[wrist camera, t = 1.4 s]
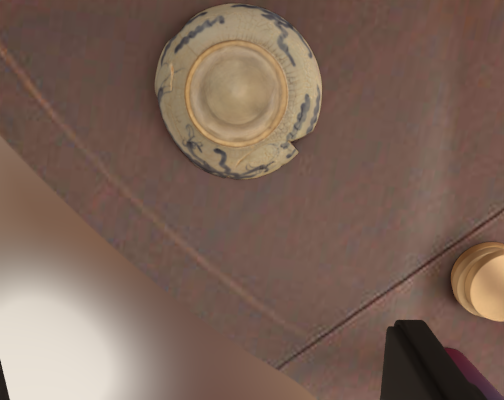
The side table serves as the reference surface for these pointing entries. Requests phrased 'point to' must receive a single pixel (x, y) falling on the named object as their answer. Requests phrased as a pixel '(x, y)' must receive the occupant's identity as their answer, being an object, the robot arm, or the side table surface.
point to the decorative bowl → (238, 90)
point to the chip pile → (481, 280)
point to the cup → (474, 375)
